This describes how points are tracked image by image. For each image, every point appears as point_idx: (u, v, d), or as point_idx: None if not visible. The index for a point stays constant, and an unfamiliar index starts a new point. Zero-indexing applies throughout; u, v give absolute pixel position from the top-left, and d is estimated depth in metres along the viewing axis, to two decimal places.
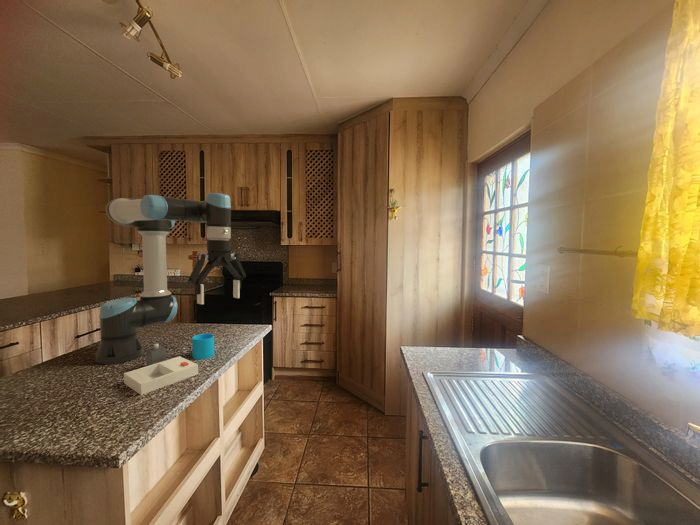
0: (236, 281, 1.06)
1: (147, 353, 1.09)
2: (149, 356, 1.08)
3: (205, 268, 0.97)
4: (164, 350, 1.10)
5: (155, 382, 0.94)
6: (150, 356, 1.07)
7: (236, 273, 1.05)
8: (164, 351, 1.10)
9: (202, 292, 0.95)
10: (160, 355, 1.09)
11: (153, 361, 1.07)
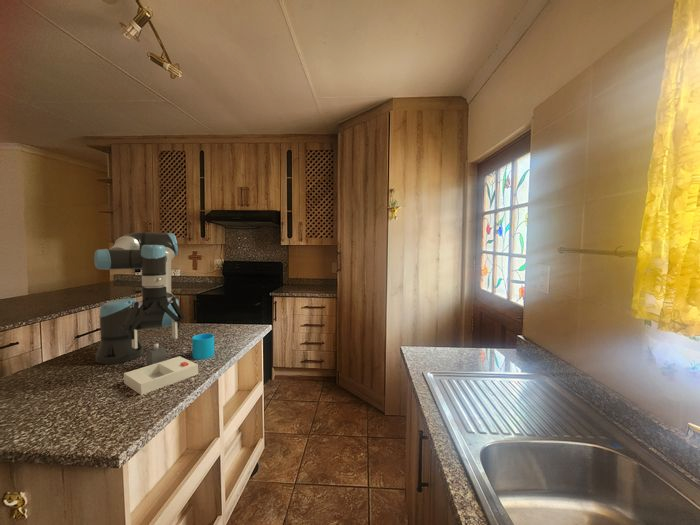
0: (174, 323, 1.14)
1: (147, 353, 1.09)
2: (149, 356, 1.08)
3: (139, 314, 1.05)
4: (164, 350, 1.10)
5: (155, 382, 0.94)
6: (150, 356, 1.07)
7: (173, 315, 1.13)
8: (164, 351, 1.10)
9: (135, 337, 1.03)
10: (160, 355, 1.09)
11: (153, 361, 1.07)
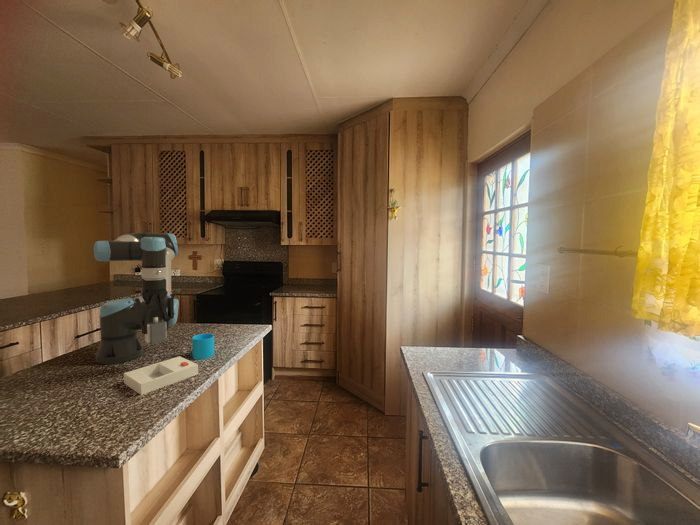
0: None
1: None
2: None
3: (145, 309, 1.07)
4: (164, 324, 1.10)
5: (155, 382, 0.94)
6: None
7: (165, 313, 1.11)
8: (164, 325, 1.10)
9: (148, 332, 1.07)
10: (160, 328, 1.09)
11: (153, 334, 1.07)
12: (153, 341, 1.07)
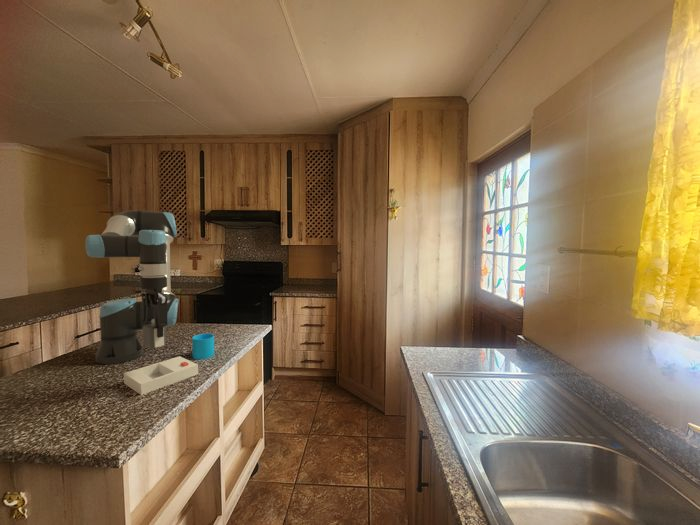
0: None
1: None
2: None
3: None
4: (148, 329, 0.95)
5: (155, 382, 0.94)
6: None
7: (154, 318, 0.96)
8: (149, 330, 0.95)
9: None
10: (147, 332, 0.96)
11: (143, 336, 0.98)
12: (144, 343, 0.98)
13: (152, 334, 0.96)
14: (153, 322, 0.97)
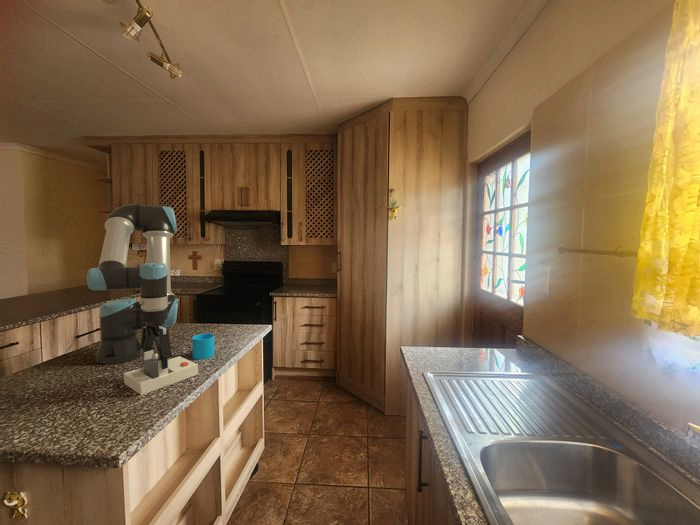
0: None
1: None
2: None
3: None
4: (149, 365, 0.96)
5: (155, 382, 0.94)
6: None
7: (158, 350, 0.95)
8: (149, 366, 0.96)
9: (144, 359, 1.01)
10: (147, 368, 0.97)
11: (144, 370, 0.99)
12: None
13: (153, 370, 0.97)
14: (154, 357, 0.98)
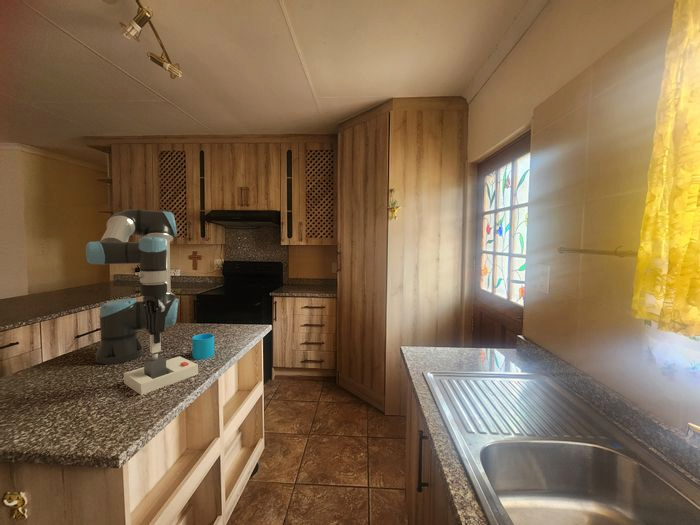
0: None
1: None
2: None
3: None
4: (149, 365, 0.96)
5: (155, 382, 0.94)
6: None
7: (152, 325, 0.97)
8: (149, 366, 0.96)
9: (150, 341, 0.98)
10: (147, 368, 0.97)
11: (144, 370, 0.99)
12: None
13: (153, 370, 0.97)
14: (154, 357, 0.98)
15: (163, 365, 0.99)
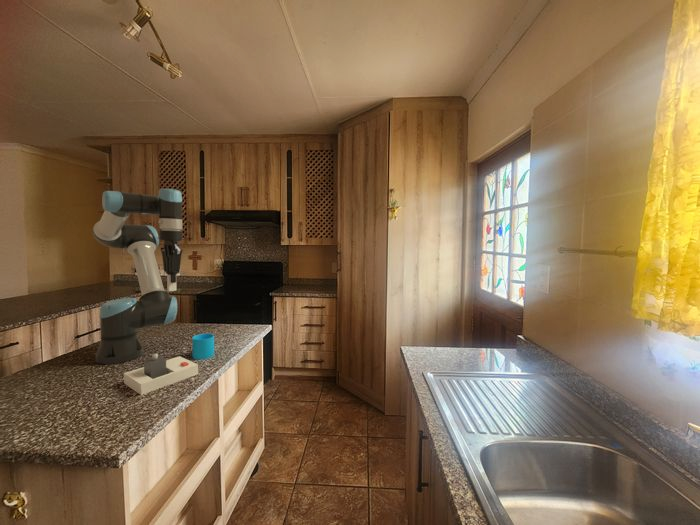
0: None
1: None
2: None
3: None
4: (149, 365, 0.96)
5: (155, 382, 0.94)
6: None
7: (169, 266, 1.12)
8: (149, 366, 0.96)
9: (167, 280, 1.13)
10: (147, 368, 0.97)
11: (144, 370, 0.99)
12: None
13: (153, 370, 0.97)
14: (154, 357, 0.98)
15: (163, 365, 0.99)
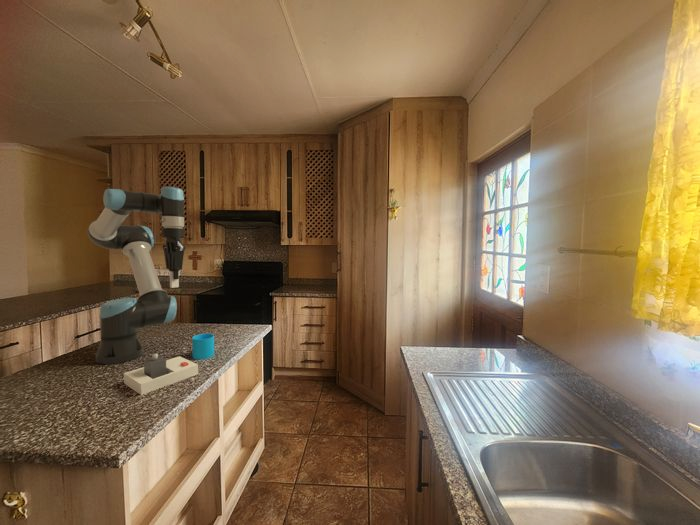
0: None
1: None
2: None
3: None
4: (149, 365, 0.96)
5: (155, 382, 0.94)
6: None
7: (172, 263, 1.14)
8: (149, 366, 0.96)
9: (170, 277, 1.15)
10: (147, 368, 0.97)
11: (144, 370, 0.99)
12: None
13: (153, 370, 0.97)
14: (154, 357, 0.98)
15: (163, 365, 0.99)
